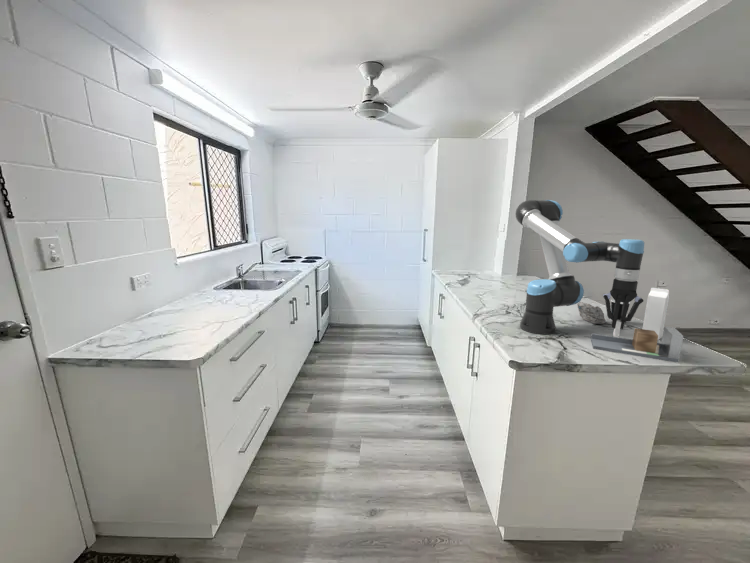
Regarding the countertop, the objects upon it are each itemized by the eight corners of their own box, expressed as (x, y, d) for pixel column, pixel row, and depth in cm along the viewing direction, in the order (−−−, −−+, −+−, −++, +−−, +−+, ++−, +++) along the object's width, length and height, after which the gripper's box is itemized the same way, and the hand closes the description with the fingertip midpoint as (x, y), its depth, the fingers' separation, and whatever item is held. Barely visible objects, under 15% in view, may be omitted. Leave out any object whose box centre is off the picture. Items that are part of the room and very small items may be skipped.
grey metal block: (668, 357, 117) (672, 334, 115) (660, 348, 126) (664, 326, 124) (678, 359, 116) (683, 336, 114) (670, 349, 124) (674, 327, 122)
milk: (658, 340, 137) (667, 290, 132) (640, 336, 141) (649, 288, 137) (662, 337, 140) (671, 288, 136) (644, 333, 145) (653, 286, 140)
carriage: (635, 350, 122) (638, 333, 121) (632, 344, 128) (634, 328, 127) (657, 354, 119) (661, 336, 118) (653, 347, 125) (656, 331, 124)
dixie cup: (603, 320, 164) (606, 299, 161) (618, 319, 164) (621, 299, 162) (616, 325, 156) (620, 303, 154) (631, 324, 156) (635, 303, 154)
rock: (572, 314, 171) (575, 298, 168) (588, 314, 171) (592, 297, 167) (588, 329, 157) (592, 311, 153) (606, 329, 156) (610, 311, 152)
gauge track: (592, 348, 128) (593, 341, 128) (590, 340, 137) (591, 333, 136) (678, 362, 116) (679, 354, 115) (669, 352, 124) (671, 344, 124)
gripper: (606, 279, 123) (597, 336, 128) (649, 282, 117) (638, 342, 122) (604, 276, 129) (595, 330, 135) (644, 279, 123) (634, 335, 128)
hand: (615, 336), depth 128 cm, fingers closed
